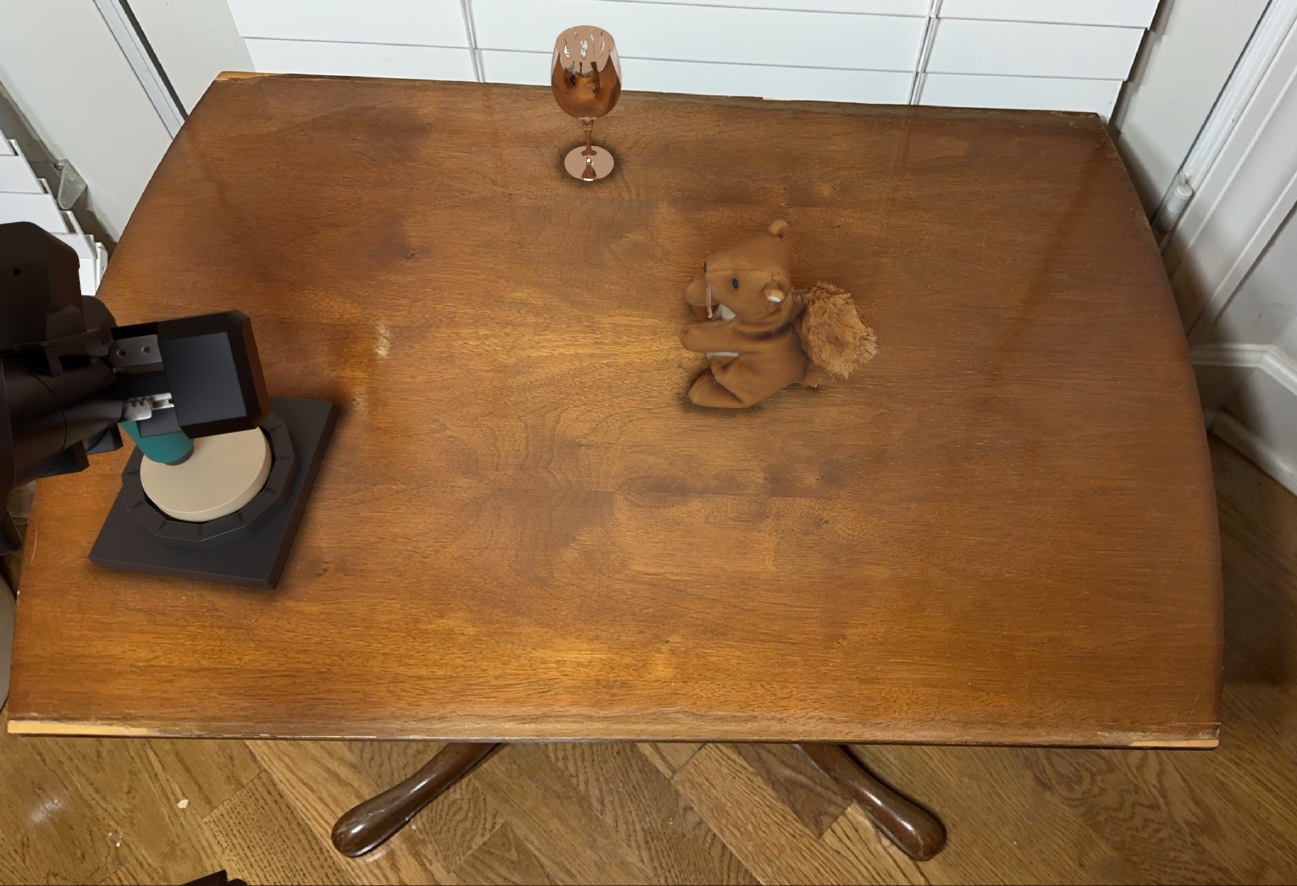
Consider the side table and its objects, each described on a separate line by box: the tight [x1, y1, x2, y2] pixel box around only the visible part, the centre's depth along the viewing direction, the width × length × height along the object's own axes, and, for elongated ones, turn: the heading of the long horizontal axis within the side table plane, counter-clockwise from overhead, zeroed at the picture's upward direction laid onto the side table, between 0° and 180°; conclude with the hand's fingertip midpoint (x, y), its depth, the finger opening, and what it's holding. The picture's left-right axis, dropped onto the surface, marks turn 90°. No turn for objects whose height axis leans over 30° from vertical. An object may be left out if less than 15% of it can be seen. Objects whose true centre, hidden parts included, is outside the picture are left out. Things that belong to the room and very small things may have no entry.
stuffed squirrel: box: [679, 218, 878, 409], centre depth 65 cm, size 10×14×13 cm
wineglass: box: [550, 24, 623, 182], centre depth 77 cm, size 6×6×12 cm
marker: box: [82, 294, 195, 466], centre depth 54 cm, size 3×3×14 cm
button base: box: [87, 394, 339, 591], centre depth 63 cm, size 14×12×3 cm
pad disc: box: [140, 427, 272, 522], centre depth 61 cm, size 8×8×1 cm
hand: (129, 370), depth 55 cm, fingers closed on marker, 3 cm apart
